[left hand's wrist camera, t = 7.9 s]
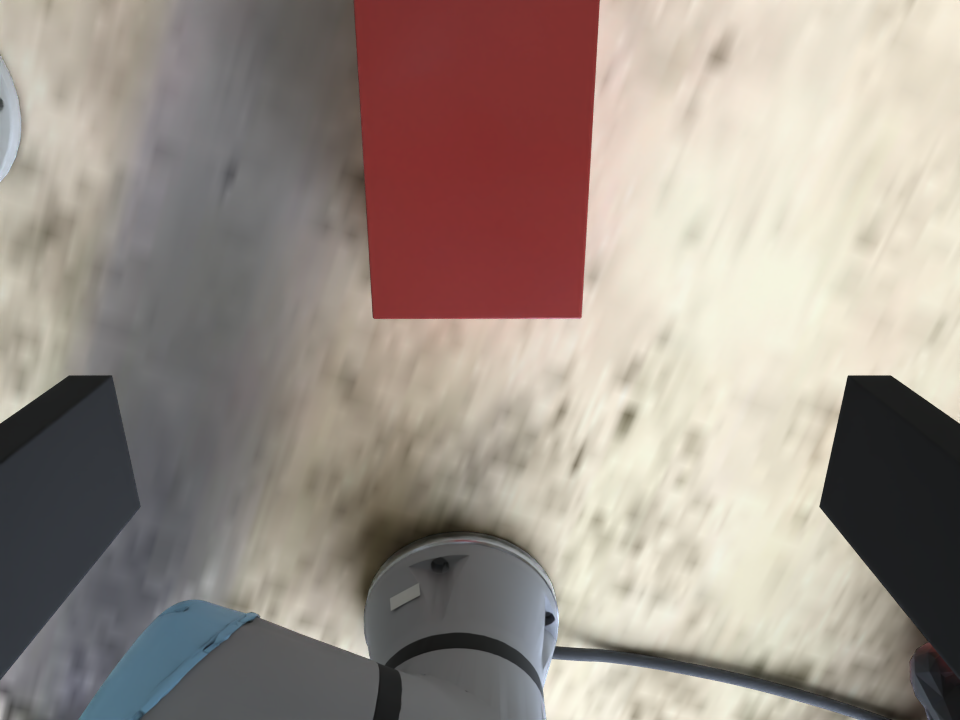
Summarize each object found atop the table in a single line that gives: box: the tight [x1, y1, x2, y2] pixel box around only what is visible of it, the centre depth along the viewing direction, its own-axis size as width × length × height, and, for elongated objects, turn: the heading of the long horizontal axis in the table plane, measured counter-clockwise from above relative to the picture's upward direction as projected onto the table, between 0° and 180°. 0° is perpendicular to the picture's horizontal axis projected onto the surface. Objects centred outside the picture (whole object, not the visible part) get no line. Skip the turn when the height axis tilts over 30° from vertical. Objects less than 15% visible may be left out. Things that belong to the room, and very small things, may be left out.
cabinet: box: [354, 0, 600, 319], centre depth 37 cm, size 18×11×10 cm, turn 0°
